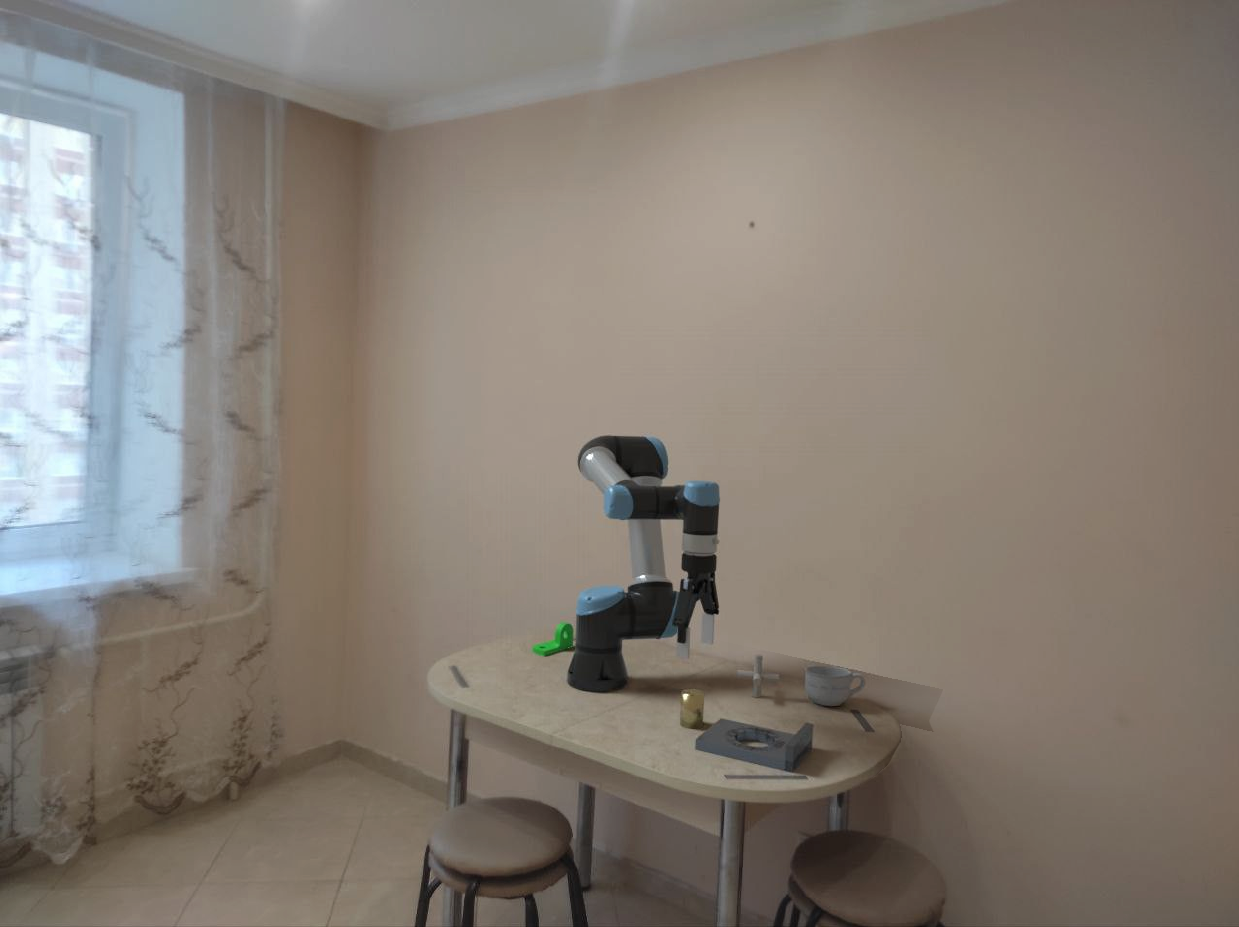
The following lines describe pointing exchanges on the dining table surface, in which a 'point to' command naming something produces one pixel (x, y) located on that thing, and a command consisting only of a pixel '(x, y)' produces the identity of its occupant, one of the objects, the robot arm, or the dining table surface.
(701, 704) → the gold round-ended peg
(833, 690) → the teacup
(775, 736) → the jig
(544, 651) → the mechanical part
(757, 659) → the pipe connector
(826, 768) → the dining table surface
